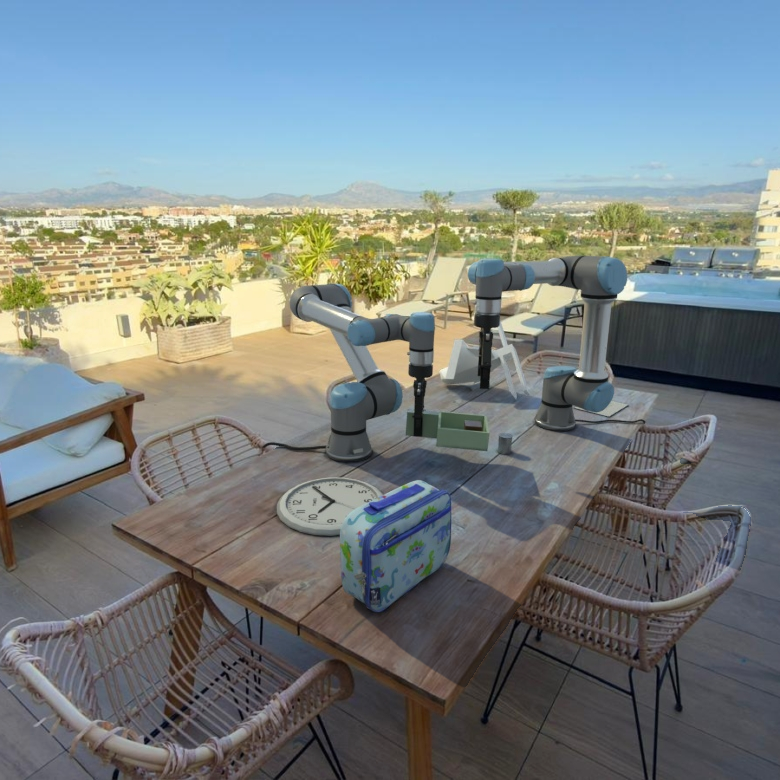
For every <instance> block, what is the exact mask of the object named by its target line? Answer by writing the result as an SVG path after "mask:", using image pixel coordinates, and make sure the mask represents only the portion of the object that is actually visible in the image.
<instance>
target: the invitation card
mask: <svg viewBox="0 0 780 780" xmlns="http://www.w3.org/2000/svg"><path fill="white" fill-rule="evenodd" d="M628 406H629V404H627V403H623V402H618V401H614V400H612V401H611V402H610V404H609V405H608V406H607V407H606V408H605V409H604V410H603V411H601V412H591V411H586V410H584V409H582V408H579V407H576V406H574V407H573V409H575V410H581V411H584V412H587V413H593V414H596V415H600V416H604V417H608V418H609V417H611V416H613V415H614V414H616V413H617V412H619V411H621V410H623V409H624V408H626V407H628Z"/></svg>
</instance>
